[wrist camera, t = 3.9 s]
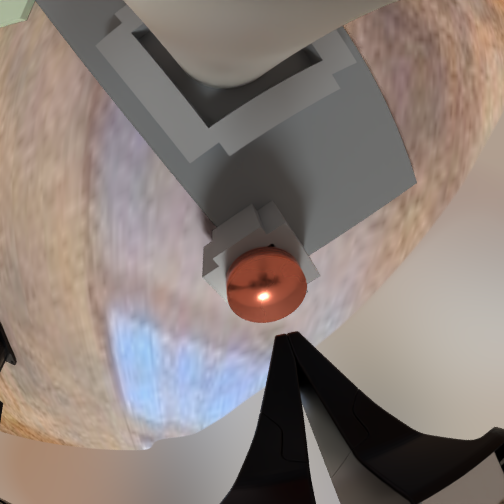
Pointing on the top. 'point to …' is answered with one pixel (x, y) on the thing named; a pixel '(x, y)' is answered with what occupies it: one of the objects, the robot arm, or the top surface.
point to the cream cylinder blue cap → (242, 32)
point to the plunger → (265, 284)
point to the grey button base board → (251, 135)
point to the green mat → (14, 11)
